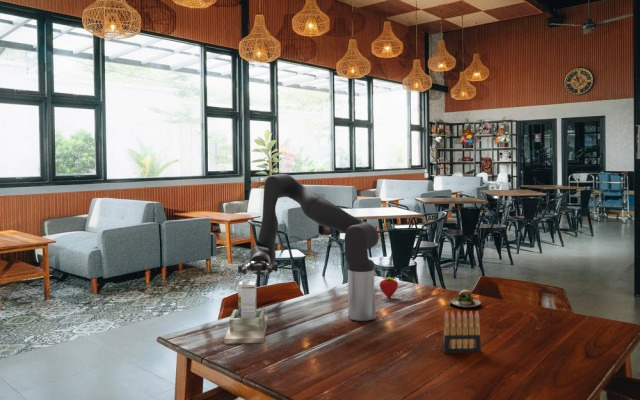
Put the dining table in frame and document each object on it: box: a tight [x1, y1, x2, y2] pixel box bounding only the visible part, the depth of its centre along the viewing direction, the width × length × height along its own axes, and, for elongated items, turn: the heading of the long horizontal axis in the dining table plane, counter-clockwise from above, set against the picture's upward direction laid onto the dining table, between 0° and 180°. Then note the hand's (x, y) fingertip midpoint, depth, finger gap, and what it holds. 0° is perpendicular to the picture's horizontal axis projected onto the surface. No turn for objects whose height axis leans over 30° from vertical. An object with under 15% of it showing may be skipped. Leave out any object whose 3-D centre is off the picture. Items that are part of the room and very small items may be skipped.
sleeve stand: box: [223, 308, 269, 344], centre depth 172 cm, size 12×22×6 cm, turn 2°
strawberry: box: [379, 273, 399, 299], centre depth 210 cm, size 6×8×10 cm
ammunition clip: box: [442, 310, 482, 354], centre depth 151 cm, size 11×2×12 cm, turn 90°
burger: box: [448, 289, 482, 308], centre depth 199 cm, size 12×12×8 cm
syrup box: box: [237, 280, 257, 318], centre depth 173 cm, size 6×6×14 cm
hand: (256, 271), depth 184 cm, fingers open, 8 cm apart
